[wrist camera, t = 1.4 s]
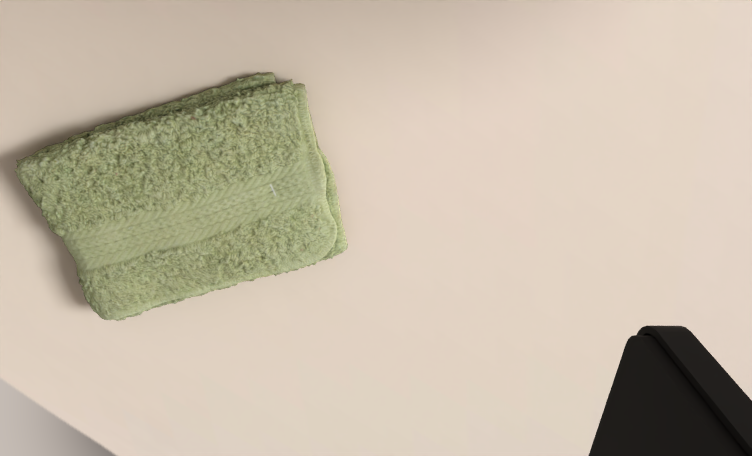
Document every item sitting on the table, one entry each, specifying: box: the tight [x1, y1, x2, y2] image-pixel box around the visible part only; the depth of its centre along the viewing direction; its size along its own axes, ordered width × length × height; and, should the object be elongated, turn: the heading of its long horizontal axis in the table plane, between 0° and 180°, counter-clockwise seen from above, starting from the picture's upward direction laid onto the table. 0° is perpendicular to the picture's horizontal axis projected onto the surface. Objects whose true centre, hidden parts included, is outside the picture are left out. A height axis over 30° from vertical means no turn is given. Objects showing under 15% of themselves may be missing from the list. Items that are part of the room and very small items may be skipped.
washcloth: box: [15, 73, 348, 321], centre depth 40 cm, size 13×18×3 cm
